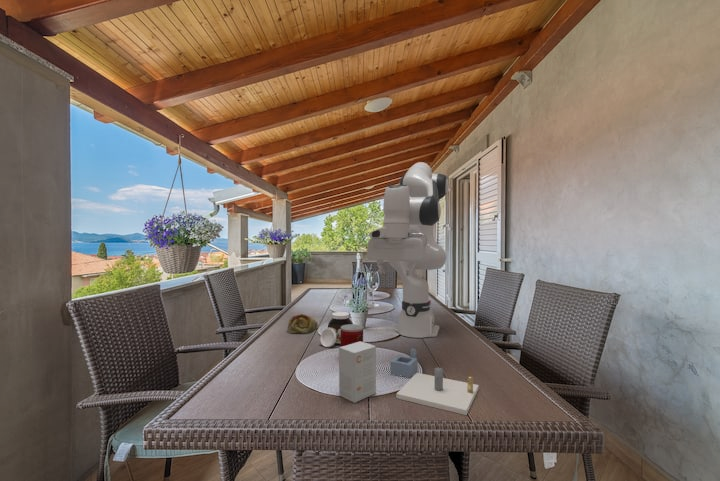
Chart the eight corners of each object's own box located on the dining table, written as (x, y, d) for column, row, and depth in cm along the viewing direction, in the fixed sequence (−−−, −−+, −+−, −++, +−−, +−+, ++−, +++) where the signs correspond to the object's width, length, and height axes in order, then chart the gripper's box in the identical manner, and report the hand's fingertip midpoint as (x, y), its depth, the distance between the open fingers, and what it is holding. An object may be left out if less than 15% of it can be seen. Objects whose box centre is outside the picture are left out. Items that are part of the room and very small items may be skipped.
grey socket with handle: (405, 361, 118) (405, 346, 118) (423, 364, 115) (423, 349, 115) (390, 374, 107) (390, 358, 107) (410, 378, 104) (410, 361, 104)
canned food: (360, 363, 117) (360, 330, 116) (337, 361, 118) (337, 329, 118) (365, 355, 124) (365, 324, 124) (343, 354, 126) (343, 323, 126)
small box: (360, 386, 99) (360, 340, 99) (376, 393, 94) (376, 345, 94) (338, 395, 93) (338, 346, 93) (354, 403, 89) (354, 352, 89)
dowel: (468, 390, 94) (468, 375, 94) (473, 391, 93) (473, 376, 93) (466, 392, 93) (467, 377, 93) (472, 393, 92) (472, 378, 92)
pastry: (289, 336, 148) (289, 317, 148) (285, 328, 160) (285, 311, 160) (322, 333, 153) (322, 314, 153) (315, 326, 165) (315, 309, 165)
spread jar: (354, 340, 142) (354, 312, 141) (349, 349, 130) (349, 318, 130) (326, 339, 144) (326, 311, 144) (318, 347, 133) (318, 317, 132)
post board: (416, 376, 106) (416, 354, 106) (478, 389, 97) (478, 365, 97) (396, 398, 92) (396, 372, 92) (466, 415, 83) (466, 387, 83)
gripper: (429, 233, 113) (429, 276, 113) (373, 233, 123) (372, 272, 123) (423, 232, 108) (422, 277, 107) (364, 232, 117) (364, 273, 117)
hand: (395, 274), depth 115 cm, fingers open, 8 cm apart
